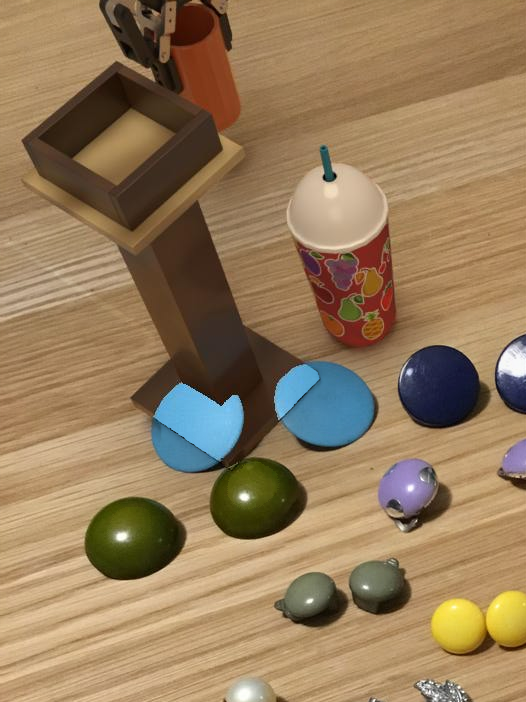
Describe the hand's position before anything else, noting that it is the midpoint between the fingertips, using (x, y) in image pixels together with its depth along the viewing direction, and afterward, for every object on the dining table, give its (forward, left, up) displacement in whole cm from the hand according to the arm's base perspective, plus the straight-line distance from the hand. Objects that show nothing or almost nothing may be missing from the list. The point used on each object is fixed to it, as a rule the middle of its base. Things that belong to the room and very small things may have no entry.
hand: (197, 68), depth 103 cm
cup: (0, 0, -5) cm, 5 cm away
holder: (+19, -21, -11) cm, 30 cm away
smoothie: (+24, -8, -11) cm, 28 cm away
